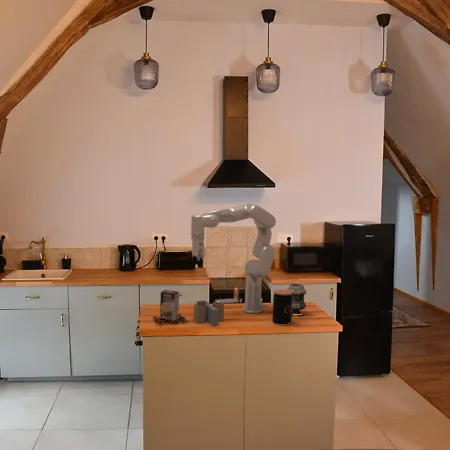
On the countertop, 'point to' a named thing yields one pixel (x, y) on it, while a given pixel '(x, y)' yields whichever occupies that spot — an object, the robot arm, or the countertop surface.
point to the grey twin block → (208, 313)
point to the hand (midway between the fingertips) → (197, 266)
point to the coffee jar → (282, 306)
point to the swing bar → (236, 295)
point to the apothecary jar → (297, 297)
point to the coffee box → (169, 304)
